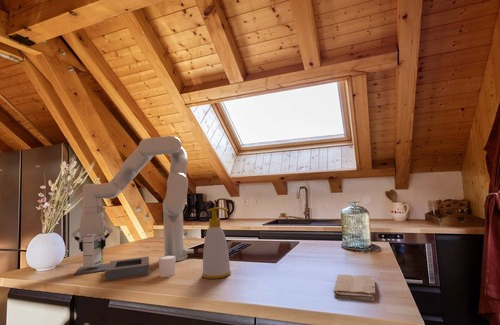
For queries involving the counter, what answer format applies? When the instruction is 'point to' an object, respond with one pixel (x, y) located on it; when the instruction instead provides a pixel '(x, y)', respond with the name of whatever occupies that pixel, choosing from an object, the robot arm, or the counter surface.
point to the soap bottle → (215, 249)
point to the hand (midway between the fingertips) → (92, 249)
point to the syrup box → (92, 250)
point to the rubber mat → (91, 269)
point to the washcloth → (355, 287)
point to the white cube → (167, 266)
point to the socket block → (127, 268)
